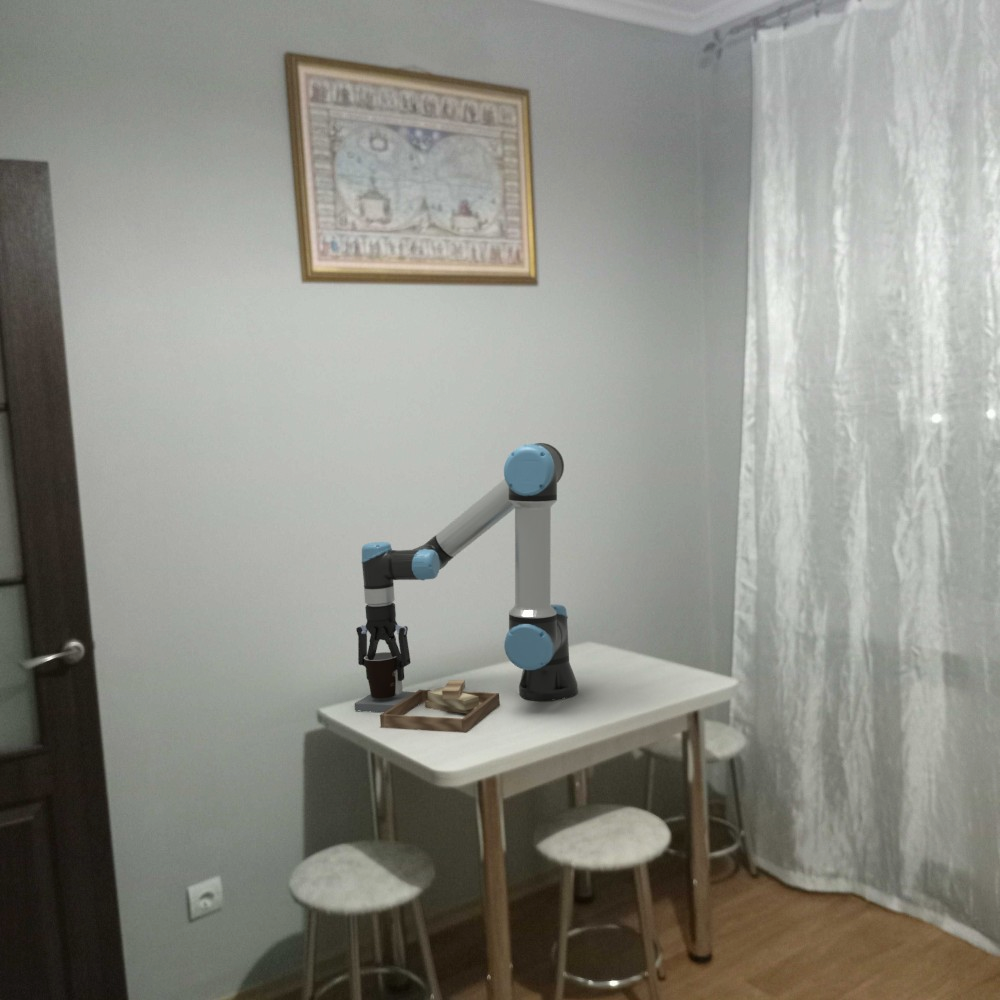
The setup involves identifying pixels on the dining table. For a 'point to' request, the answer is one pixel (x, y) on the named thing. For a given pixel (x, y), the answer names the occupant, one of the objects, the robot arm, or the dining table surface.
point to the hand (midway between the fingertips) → (386, 692)
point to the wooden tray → (399, 720)
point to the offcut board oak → (447, 707)
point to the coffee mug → (381, 675)
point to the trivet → (380, 702)
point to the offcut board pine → (454, 700)
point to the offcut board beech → (453, 689)
